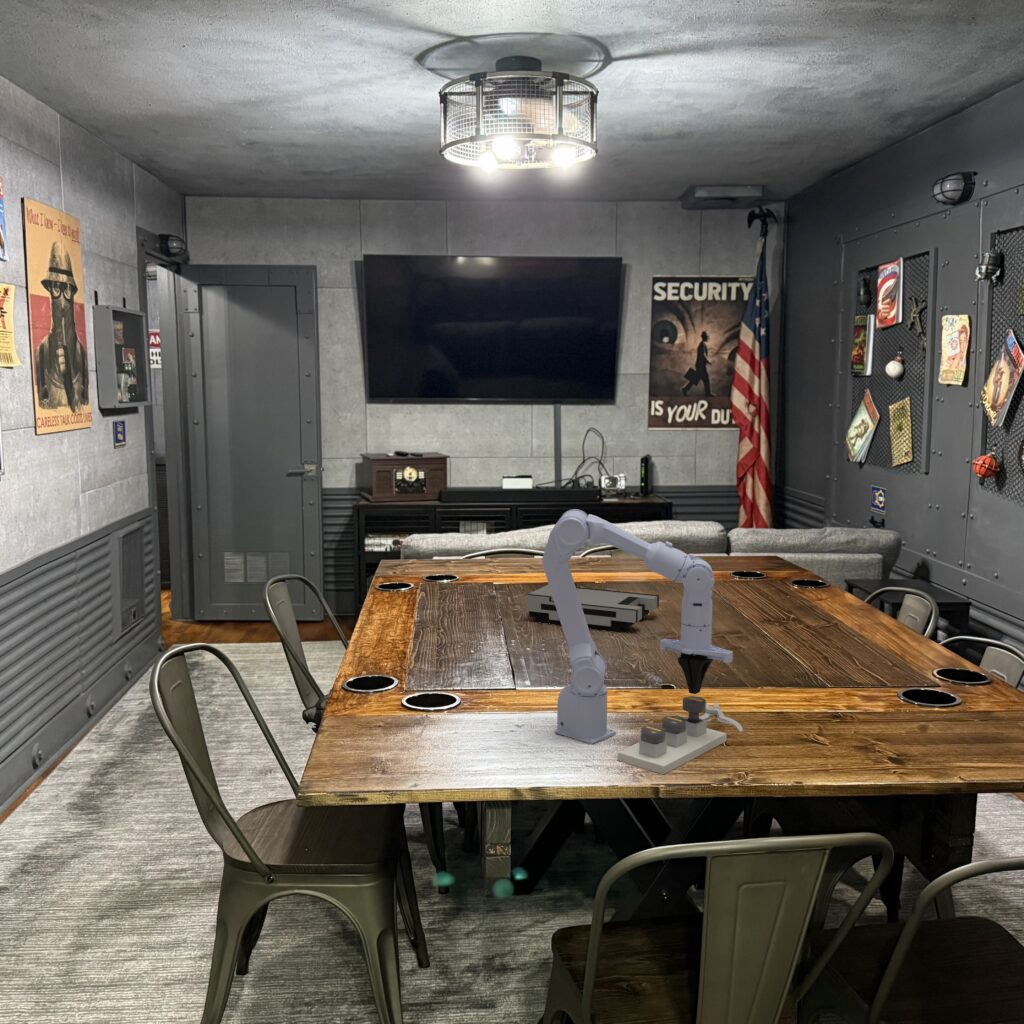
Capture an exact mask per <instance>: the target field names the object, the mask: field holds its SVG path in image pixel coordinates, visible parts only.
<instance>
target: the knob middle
mask: <svg viewBox="0 0 1024 1024" xmlns="http://www.w3.org/2000/svg"><path fill="white" fill-rule="evenodd" d="M685 718H686V717H683V716H677V715H667V716H664V717H662V726H661V727H663V728H665V730H666V732H669V733H682V732H684V731H686V719H685Z"/></svg>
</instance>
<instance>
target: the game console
mask: <svg viewBox="0 0 1024 1024" xmlns="http://www.w3.org/2000/svg"><path fill="white" fill-rule="evenodd" d="M574 583H575V587H576V590H577V593H578V596H579V599H580V603H581V606H582V609H583V612H584V616H585V619H586V622H587V625H588V628H591V629H590V630H594V629H597V630H596V631H602V630H606V631H605V632H611V631H613V632H612V633H620V632H621V630H622V631H623V630H625V629H628V628H630V627H632V626H633V625H634V624H636V623H638V622H639V621H640V620H643V618H644V617H645V616H647V615H648V614H649V613H650V611H655V610H656V609H658V608H659V606H660V600H659V599H660V595H659V594H651V593H650V594H649V593H639V592H630V591H621V590H611V589H609V590H608V589H600V588H591V587H578V586H577V582H574ZM526 611H527V612H528V617H529V618H534V623H535V622H541V623H540V624H542V623H550V624H549V625H551V624H557V625H556V626H560V625H561V622H560V619H559V616H558V612H557V609H556V606H555V603H554V600H553V596H552V593H551V590H550V587H549V584H548V583H547V584H546V585H544V586H542V587H540V588H537V589H536V590H534V591H532V592H530V593H528V594H526ZM624 628H625V629H624Z"/></svg>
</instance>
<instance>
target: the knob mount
mask: <svg viewBox="0 0 1024 1024" xmlns="http://www.w3.org/2000/svg"><path fill="white" fill-rule="evenodd" d="M688 717H689V716H687V717H684V718H685V719H686V731H684V732H682V733H669V732H666V733H665V741H664V742H662V743H656V744H655V743H647V742H644V741H642V740H641V739H639V742H637V743H635V744H633V745H631V746H629V747H626V748H624V749H621V750H620V751H618V752H617V762H618V761H619V762H622V763H625V764H629V765H630V766H636V767H638V768H641V769H644V770H648V771H651V772H654V773H658V774H661V775H665V774H667V773H669V772H671V771H673V770H676V769H678V767H680V766H681V767H682V766H683V765H685V764H686V763H688V762H690V761H691V760H694V759H695V758H698V757H699V756H702V755H703V754H705V753H707V752H708V751H710V750H712V749H714V748H716V747H718V746H720V745H721V744H724V743H726V742H727V737H728V734H727V733H726V732H724V731H718V730H716V729H715V730H714V729H711V728H709V727H707V725H708V724H707V720H708V719H707V720H704V719H700V718H699V722H697V723H692V722H689V721H688Z"/></svg>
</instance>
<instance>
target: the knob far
mask: <svg viewBox="0 0 1024 1024" xmlns="http://www.w3.org/2000/svg"><path fill="white" fill-rule="evenodd" d="M706 703H707V700H706V699H705V698H704V697H701V696H696V695H695V696H694V695H692V696H691V695H690V696H685V697H683V698H682V708H681V709H682V710H683V711H684V712H688V716H687V717H688V721H689V722H692V723H697V722H699V717H700V714H701V713H705V712H704V711H705V710H706Z"/></svg>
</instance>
